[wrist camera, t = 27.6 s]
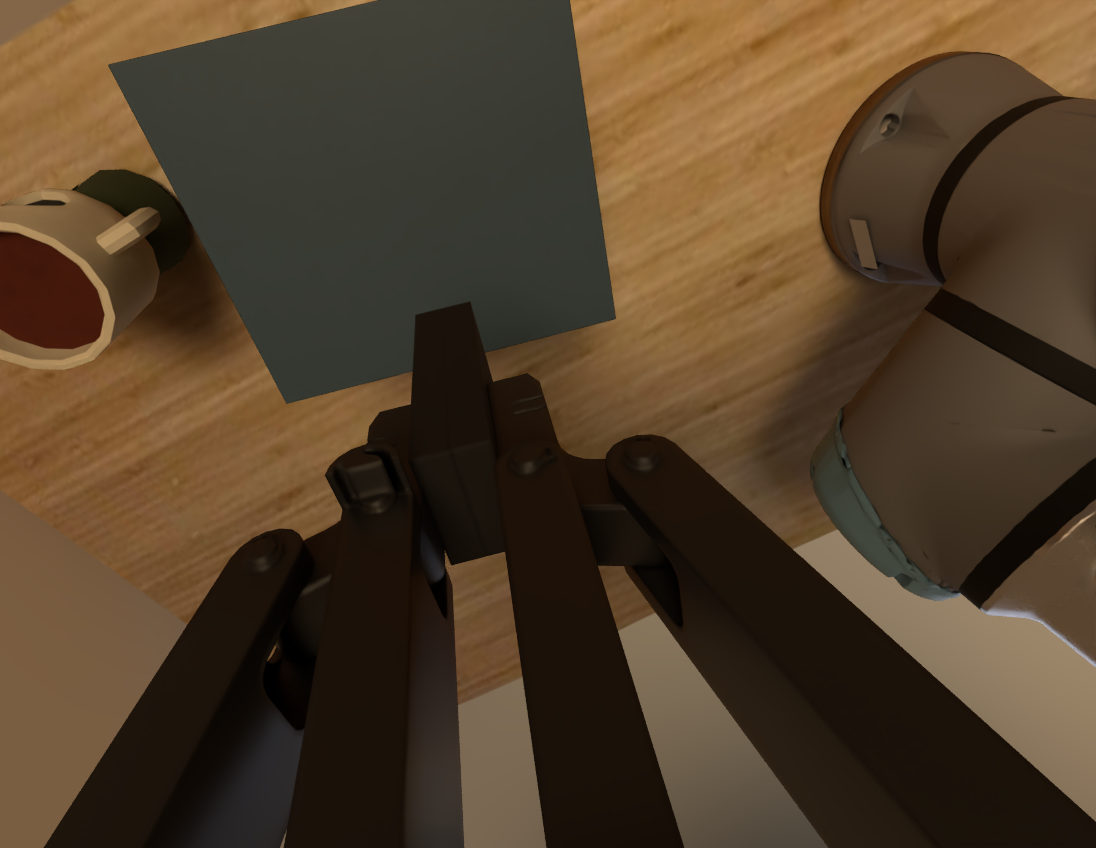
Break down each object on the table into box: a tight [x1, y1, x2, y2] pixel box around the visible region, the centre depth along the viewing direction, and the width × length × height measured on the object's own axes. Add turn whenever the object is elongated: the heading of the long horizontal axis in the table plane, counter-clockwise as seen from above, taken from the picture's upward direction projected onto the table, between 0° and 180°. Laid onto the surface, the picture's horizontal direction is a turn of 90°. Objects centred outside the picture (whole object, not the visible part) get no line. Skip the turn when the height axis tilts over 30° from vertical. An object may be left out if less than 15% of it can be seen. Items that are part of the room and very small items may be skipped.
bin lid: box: [108, 0, 616, 403], centre depth 27 cm, size 15×17×1 cm
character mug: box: [0, 169, 190, 370], centre depth 32 cm, size 11×7×13 cm, turn 117°
